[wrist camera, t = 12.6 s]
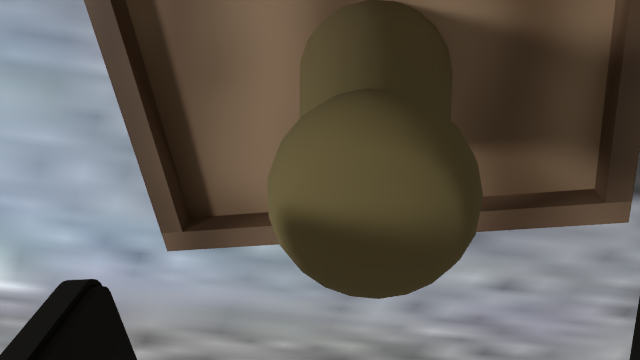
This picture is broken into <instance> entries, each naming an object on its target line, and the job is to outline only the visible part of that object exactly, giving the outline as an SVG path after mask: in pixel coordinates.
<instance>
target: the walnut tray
mask: <svg viewBox="0 0 640 360" xmlns="http://www.w3.org/2000/svg"><path fill="white" fill-rule="evenodd" d="M362 1H366V0H84V2H85V5H86V8H87V11H88V14H89V17H90V20H91V23H92V26H93V29H94V32H95V35H96V38H97V41H98V44H99V47H100V50H101V53H102V56H103V59H104V62H105V65H106V68H107V71H108V74H109V77H110V80H111V83H112V86H113V89H114V92H115V95H116V98H117V101H118V104H119V107H120V110H121V113H122V116H123V119H124V122H125V125H126V128H127V131H128V134H129V137H130V140H131V143H132V146H133V149H134V152H135V155H136V158H137V161H138V164H139V167H140V170H141V173H142V176H143V179H144V182H145V185H146V188H147V191H148V194H149V197H150V200H151V203H152V206H153V209H154V212H155V215H156V218H157V221H158V224H159V227H160V230H161V233H162V236H163V239H164V242H165V245H166V248H167V251H179V250H195V249H211V248H227V247H243V246H259V245H275V244H279V243H278V240H277V237H276V235H275V232H274V229H273V227H272V224H271V222H270V219H269V212H268V175H269V172H270V170H271V167H272V164H273V161H274V159H275V156H276V153H277V150H278V148H279V146H280V143H281V141H282V139H283V138H284V137H285V135H286V134H287V133H288V132H289V131H290V129H291V128H292V127H293V126H294V125H295V123H296V122H297V121H298V120H299V119H300V61H301V58H302V55H303V52H304V50H305V47H306V44H307V41H308V39H309V38H310V36H311V35H312V34H313V33H314V31H315V30H316V29H317V28H318V26H319V25H320V24H321V22H322V21H323V20H324V19H326V18H327V17H329V16H330V15H332V14H333V13H335V12H336V11H338V10H339V9H341V8H342V7H344V6H348V5H351V4H355V3H358V2H362ZM383 1H395V2H398V3H400V4H402V5H405V6H407V7H410V8H412V9H415V10H417V11H419V12H420V13H421V14H422V15H423V16H424V17H426V18H427V19H428V20H429V21H430V22H431V23H432V24H434V25H435V26H436V27H437V29H438V31H439V33H440V34H441V36H442V38H443V40H444V41H445V43H446V45H447V47H448V50H449V55H450V61H451V67H452V97H451V121H452V122H453V123H454V124H455V125H456V126H458V128H459V129H460V131H461V133H462V135H463V136H464V138H465V140H466V141H467V143H468V145H469V146H470V148H471V150H472V151H473V153H474V155H475V158H476V160H477V163H478V167H479V173H480V179H481V185H482V191H483V198H482V205H481V210H480V215H479V220H478V224H477V229H476V232H483V231H499V230H515V229H531V228H547V227H563V226H579V225H595V224H611V223H627V222H629V217H630V210H631V203H632V196H633V190H634V183H635V176H636V170H637V163H638V156H639V149H640V0H383Z"/></svg>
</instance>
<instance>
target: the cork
mask: <svg viewBox="0 0 640 360" xmlns="http://www.w3.org/2000/svg"><path fill="white" fill-rule="evenodd" d="M451 97H452V67H451V61H450V55H449V50H448V47H447V45H446V43H445V41H444V40H443V38H442V36H441V34H440V33H439V31H438V29H437V27H436V26H435V25H434V24H432V23H431V22H430V21H429V20H428V19H427V18H426V17H424V16H423V15H422V14H421V13H420V12H419V11H417V10H415V9H412V8H410V7H407V6H405V5H402V4H400V3H398V2H395V1H383V0H366V1H362V2H358V3H355V4H351V5H348V6H344V7H342V8H341V9H339V10H338V11H336V12H335V13H333V14H332V15H330V16H329V17H327V18H326V19H324V20H323V21H322V22H321V24H320V25H319V26H318V28H317V29H316V30H315V31H314V33H313V34H312V35H311V36H310V38H309V39H308V41H307V44H306V47H305V50H304V52H303V55H302V58H301V61H300V119H299V120H298V121H297V122H296V123H295V125H294V126H293V127H292V128H291V129H290V131H289V132H288V133H287V134H286V135H285V137H284V138H283V139H282V141H281V143H280V146H279V148H278V150H277V153H276V156H275V159H274V161H273V164H272V167H271V170H270V172H269V175H268V212H269V219H270V222H271V224H272V227H273V229H274V232H275V235H276V237H277V240H278V243H279V244H280V246H281V247H282V248H283V249H284V251H285V252H286V253H287V254H288V255H289V257H290V258H291V259H292V260H293V262H294V263H295V264H296V265H297V266H298V267H299V269H300V270H301V271H302V272H303V273H305V274H306V275H308V276H309V277H311V278H312V279H314V280H315V281H317V282H318V283H320V284H321V285H323V286H324V287H326V288H329V289H332V290H335V291H338V292H340V293H343V294H346V295H349V296H355V297H366V298H377V299H380V298H387V297H393V296H399V295H406V294H409V293H411V292H413V291H416V290H418V289H420V288H423V287H425V286H427V285H429V284H432V283H433V282H434V281H435V280H437V279H438V278H439V277H440V276H442V275H443V274H444V273H445V272H446V271H448V270H449V269H450V268H451V267H452V266H453V265H455V264H456V263H457V262H458V261H459V260H460V258H461V257H462V255H463V254H464V252H465V250H466V249H467V247H468V246H469V244H470V243H471V241H472V239H473V238H474V236H475V234H476V229H477V224H478V220H479V215H480V210H481V205H482V198H483V191H482V185H481V179H480V173H479V167H478V163H477V160H476V158H475V155H474V153H473V151H472V150H471V148H470V146H469V145H468V143H467V141H466V140H465V138H464V136H463V135H462V133H461V131H460V129H459V128H458V126H456V125H455V124H454V123H453V122H452V121H451Z"/></svg>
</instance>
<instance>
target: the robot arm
mask: <svg viewBox="0 0 640 360" xmlns="http://www.w3.org/2000/svg"><path fill="white" fill-rule="evenodd" d="M0 360H137V358H136V356H135V353H134V351H133V348H132V346H131V343H130V340H129V338H128V335H127V333H126V330H125V328H124V325H123V323H122V320H121V318H120V315H119V313H118V310H117V307H116V305H115V302H114V300H113V297H112V295H111V292H110V291H109V289H108V288H107V287H104V286H102V285H101V283H100V282H99V281H98V280H95V279H85V280H67V281H64V282H62V283H61V284H60V285H59V286H58V287H57V288H56V289H55V290H54V292H53V293H52V294H51V295H50V296H49V298H48V299H47V300H46V301H45V302H44V303H43V305H42V306H41V307H40V308H39V309H38V311H37V312H36V313H35V314H34V315H33V317H32V318H31V319H30V320H29V321H28V323H27V324H26V325H25V326H24V327H23V328H22V330H21V331H20V332H19V333H18V334H17V336H16V337H15V338H14V339H13V340H12V342H11V343H10V344H9V345H8V346H7V347H6V349H5V350H4V351H3V352H2V353H1V355H0ZM630 360H640V298H639V304H638V310H637V317H636V323H635V329H634V335H633V342H632V348H631V354H630Z"/></svg>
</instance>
